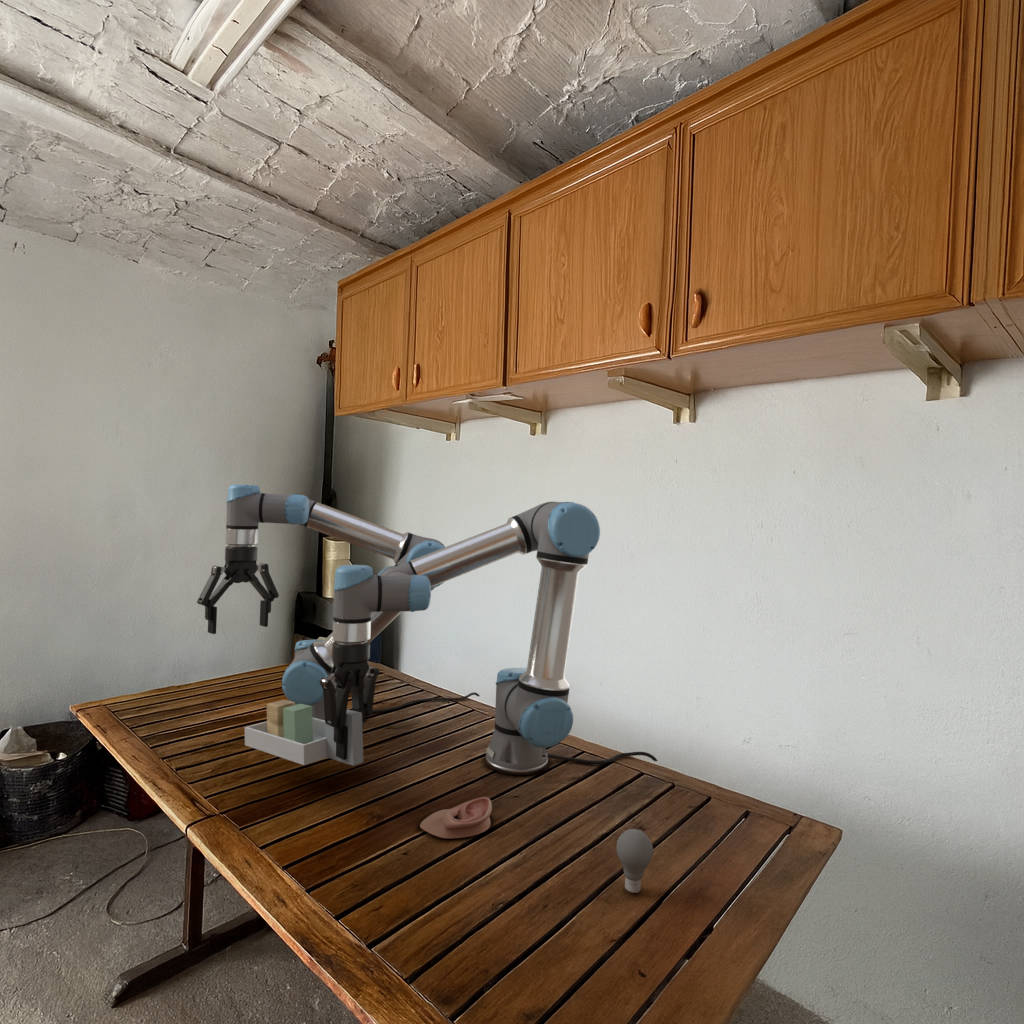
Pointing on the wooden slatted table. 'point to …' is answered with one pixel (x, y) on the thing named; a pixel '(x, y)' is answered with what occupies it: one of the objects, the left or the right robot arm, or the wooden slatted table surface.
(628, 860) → the light bulb
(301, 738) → the sage block
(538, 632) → the right robot arm
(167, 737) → the wooden slatted table surface
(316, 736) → the tray
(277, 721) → the birch block
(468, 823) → the anatomical model
